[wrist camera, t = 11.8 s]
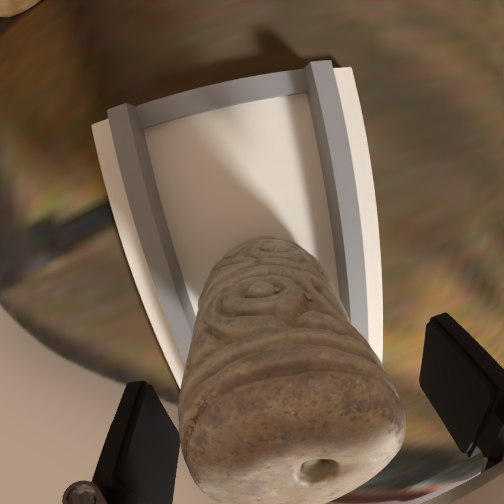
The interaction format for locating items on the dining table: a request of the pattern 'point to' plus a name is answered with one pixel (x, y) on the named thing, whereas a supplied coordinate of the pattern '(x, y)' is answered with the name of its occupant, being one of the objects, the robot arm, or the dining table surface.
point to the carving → (282, 385)
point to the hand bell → (15, 6)
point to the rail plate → (243, 190)
